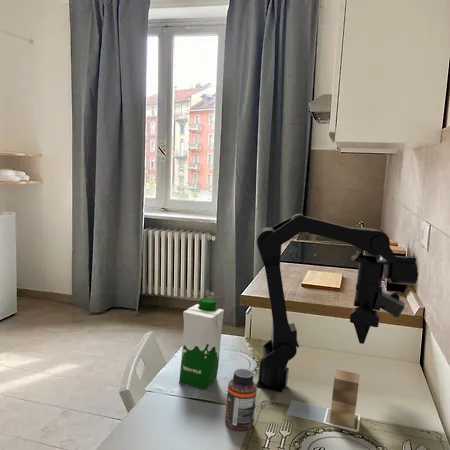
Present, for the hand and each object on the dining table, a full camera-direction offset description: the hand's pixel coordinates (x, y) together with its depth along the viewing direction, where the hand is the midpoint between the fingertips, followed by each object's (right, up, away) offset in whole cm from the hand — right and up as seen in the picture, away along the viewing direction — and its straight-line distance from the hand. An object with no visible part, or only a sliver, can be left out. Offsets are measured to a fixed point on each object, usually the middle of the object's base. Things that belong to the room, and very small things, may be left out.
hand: (361, 343), depth 112 cm
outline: (-8, -14, -12) cm, 20 cm away
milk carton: (-40, -10, +1) cm, 41 cm away
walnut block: (-7, -9, -13) cm, 17 cm away
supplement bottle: (-31, -13, -17) cm, 37 cm away
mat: (-12, -13, -11) cm, 21 cm away
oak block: (-8, -14, -12) cm, 20 cm away
